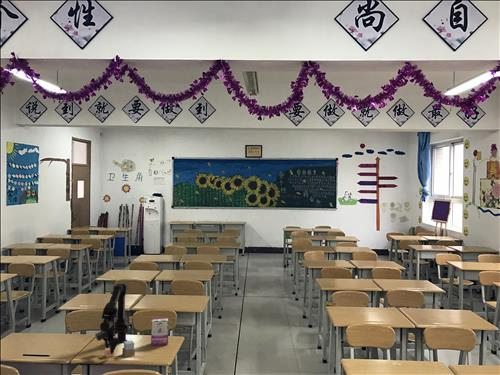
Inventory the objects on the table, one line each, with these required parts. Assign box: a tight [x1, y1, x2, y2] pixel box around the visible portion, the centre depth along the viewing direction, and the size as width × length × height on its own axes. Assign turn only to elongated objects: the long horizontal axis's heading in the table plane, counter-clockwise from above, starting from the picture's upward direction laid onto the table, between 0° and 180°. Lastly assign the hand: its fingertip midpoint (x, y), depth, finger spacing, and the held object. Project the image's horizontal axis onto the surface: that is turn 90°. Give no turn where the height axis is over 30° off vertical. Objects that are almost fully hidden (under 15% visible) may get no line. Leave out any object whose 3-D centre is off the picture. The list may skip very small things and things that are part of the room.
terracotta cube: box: [104, 347, 115, 359], centre depth 272 cm, size 4×4×4 cm
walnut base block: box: [121, 347, 136, 358], centre depth 275 cm, size 6×6×4 cm
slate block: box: [123, 340, 135, 351], centre depth 275 cm, size 5×5×4 cm
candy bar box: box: [150, 318, 169, 346], centre depth 295 cm, size 11×5×16 cm, turn 101°
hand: (109, 351), depth 272 cm, fingers open, 9 cm apart
